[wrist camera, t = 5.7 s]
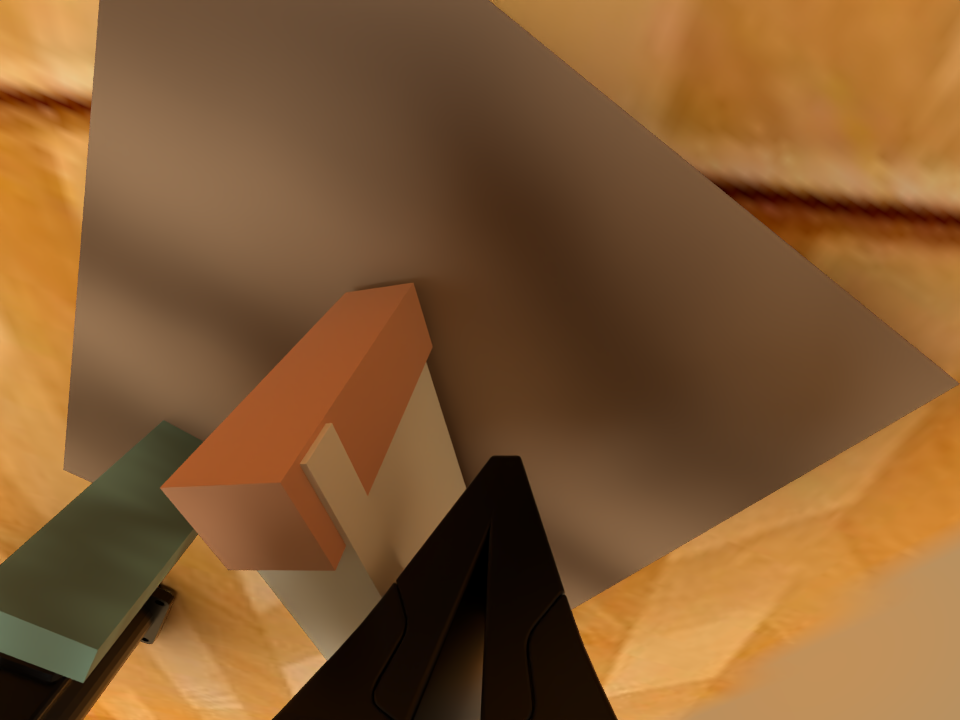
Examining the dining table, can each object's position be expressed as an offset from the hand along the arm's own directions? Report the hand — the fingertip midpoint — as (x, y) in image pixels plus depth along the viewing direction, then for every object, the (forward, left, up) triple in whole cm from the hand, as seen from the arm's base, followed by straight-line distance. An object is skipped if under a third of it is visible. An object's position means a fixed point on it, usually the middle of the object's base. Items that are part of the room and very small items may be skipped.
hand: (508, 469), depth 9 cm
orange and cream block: (-5, -1, -3) cm, 5 cm away
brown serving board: (-4, +2, -4) cm, 6 cm away
